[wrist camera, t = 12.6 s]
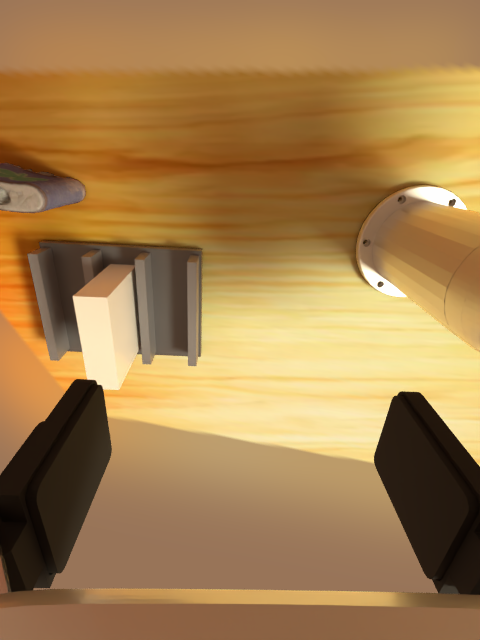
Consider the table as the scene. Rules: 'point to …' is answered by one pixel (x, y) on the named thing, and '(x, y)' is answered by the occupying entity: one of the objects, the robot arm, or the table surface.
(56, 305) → the rack
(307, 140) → the table surface
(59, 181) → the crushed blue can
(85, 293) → the beige square block
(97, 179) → the table surface
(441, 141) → the table surface
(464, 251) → the robot arm
